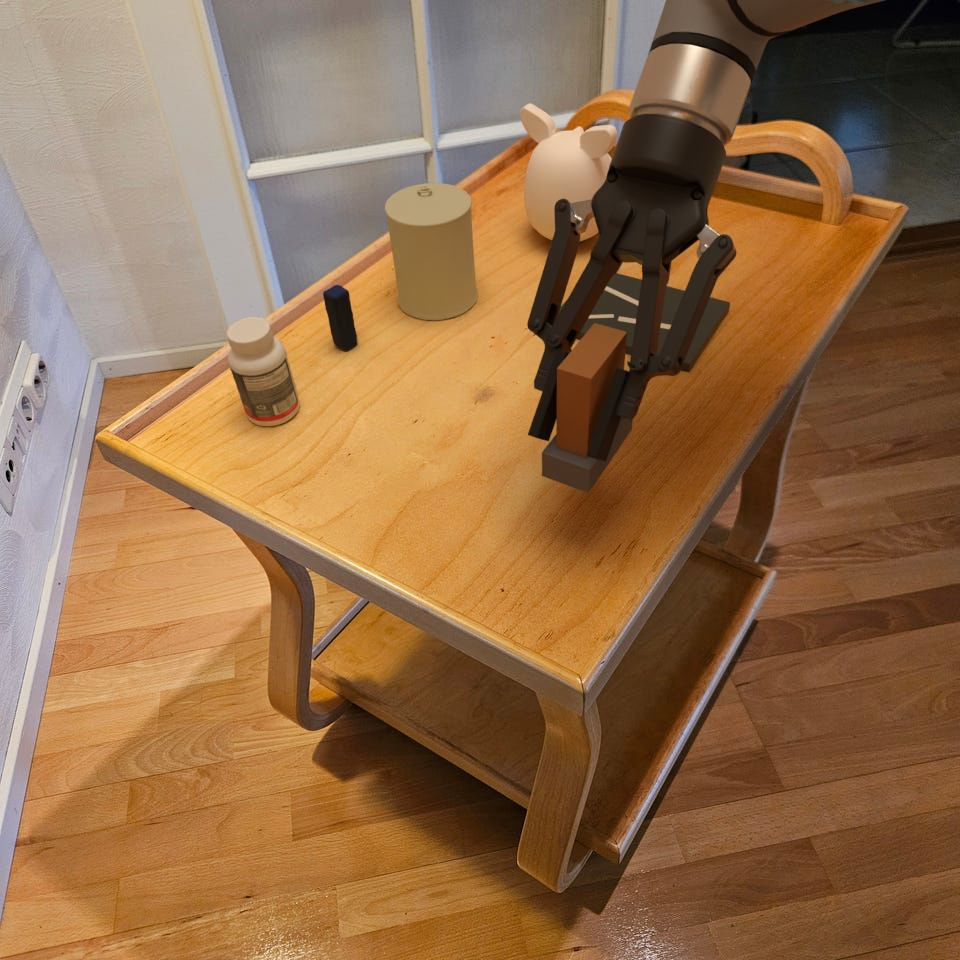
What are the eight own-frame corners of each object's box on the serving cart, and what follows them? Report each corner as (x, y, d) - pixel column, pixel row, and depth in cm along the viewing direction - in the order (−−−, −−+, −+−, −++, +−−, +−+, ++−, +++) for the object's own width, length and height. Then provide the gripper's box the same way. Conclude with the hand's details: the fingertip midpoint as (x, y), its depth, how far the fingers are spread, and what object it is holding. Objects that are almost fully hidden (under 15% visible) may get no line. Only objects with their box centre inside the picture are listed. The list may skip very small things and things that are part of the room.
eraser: (332, 345, 89) (320, 291, 84) (348, 336, 90) (337, 281, 85) (344, 353, 88) (333, 299, 83) (360, 344, 89) (350, 289, 84)
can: (468, 269, 98) (461, 172, 90) (486, 312, 92) (480, 212, 83) (392, 282, 97) (377, 185, 89) (404, 327, 91) (390, 227, 82)
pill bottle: (245, 398, 84) (218, 317, 77) (298, 388, 84) (276, 307, 77) (247, 433, 80) (219, 351, 73) (303, 422, 81) (280, 340, 74)
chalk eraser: (632, 429, 67) (642, 326, 60) (588, 493, 62) (594, 390, 55) (586, 415, 68) (591, 312, 61) (541, 476, 64) (540, 373, 57)
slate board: (729, 309, 90) (730, 301, 89) (688, 371, 83) (690, 363, 82) (594, 274, 96) (595, 266, 95) (546, 329, 89) (546, 321, 88)
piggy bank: (629, 218, 104) (639, 96, 94) (600, 266, 97) (607, 139, 86) (537, 204, 108) (537, 85, 98) (503, 248, 101) (498, 125, 90)
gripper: (801, 176, 58) (687, 489, 60) (582, 136, 65) (486, 418, 67) (796, 130, 51) (667, 485, 54) (551, 90, 58) (446, 407, 60)
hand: (567, 447), depth 60 cm, fingers closed on chalk eraser, 4 cm apart
